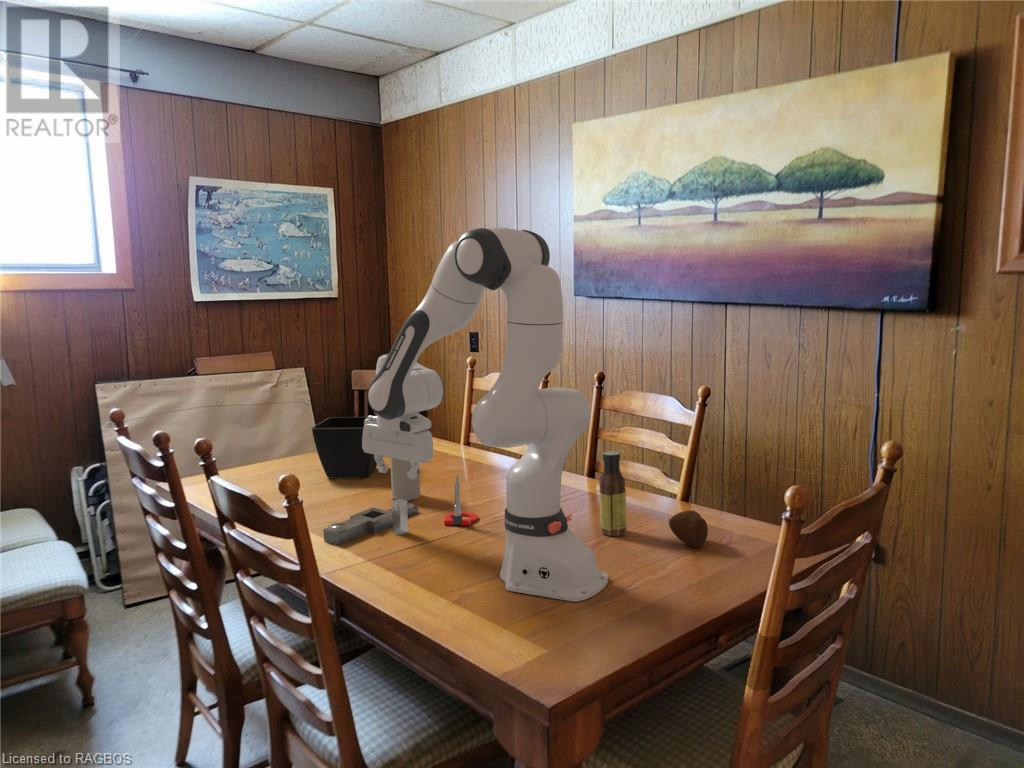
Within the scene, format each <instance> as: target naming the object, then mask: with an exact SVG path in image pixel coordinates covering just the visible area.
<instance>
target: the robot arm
mask: <svg viewBox="0 0 1024 768" xmlns="http://www.w3.org/2000/svg"><path fill="white" fill-rule="evenodd" d="M550 258H551V257H550V248H549V245H548V244H547V242H546V240H545V239H544V238H543V236H541V235H540V234H538V233H537V232H536V233H535V232H534V231H531V230H528V229H521V230H520V229H514V228H513V229H512V228H509V227H491V228H485V227H478V228H474V229H471V230H469V231H467V232H465V233H463V234H462V235H461V236H460V238H459V239H458V240H456V241H454V242H452V243H451V244H450V245H449V246H448V247H447V249H446V250H445V253H444V254H443V256H442V257H441V260H440V262H439V263H438V266H437V268H436V270H435V272H434V275H433V278H432V280H431V283H430V285H429V288H428V290H427V291H426V294H425V295H424V297H423V299H422V301H421V302H420V303H419V304H418V306H417V307H416V308H415V309H414V311H413V312H411V314H410V315H409V316H408V317H407V318H406V320H405V321H404V323H403V325H402V327H401V329H400V331H399V332H398V334H397V336H396V339H395V341H394V343H393V345H392V347H391V349H390V351H389V353H386V354H385V353H384V354H382V355H380V356H379V357H378V359H377V362H376V366H375V367H376V368H375V375H374V377H373V378H372V380H371V381H370V384H369V386H368V389H367V401H368V405H369V406H370V408H371V410H372V411H373V412H374V413H375V414H376V416H374V415H368V416H366V417H367V418H366V419H365V420H364V429H363V437H362V448H363V450H364V452H365V453H370V454H374V459H375V461H376V463H377V467H378V470H377V471H378V473H381V474H385V473H388V470H389V469H388V467H389V466H388V464H386V462H385V460H384V458H395V459H400V460H405V461H410V465H411V466H412V468H411V470H410V471H408V472H407V475H408V476H407V477H408V479H416V478H417V470H418V468H419V469H420V467H421V464H426V463H429V462H431V461H432V459H433V457H434V441H433V434H432V432H431V431H430V430H429V429H431V428H432V421H431V420H430V419H429V418H428V417H427V416H426V417H425V416H424V415H422V414H421V413H420V412H423V411H429V410H431V409H434V408H437V407H439V406H440V405H441V403H442V401H443V399H444V396H445V384H444V381H443V379H442V377H441V375H440V373H438V372H437V371H436V370H434V369H431V368H428V367H425V366H424V365H422V364H420V363H418V360H419V357H420V356H421V354H422V353H423V351H424V350H425V349H426V348H427V347H429V346H430V345H431V344H434V343H435V342H436V341H439V340H440V339H443V338H445V337H446V336H449V335H452V334H454V333H457V332H459V331H461V330H462V329H464V328H466V327H467V326H468V325H469V323H470V322H471V321H472V320H473V318H474V317H475V314H476V313H477V310H478V308H479V305H480V303H481V300H482V297H483V294H484V291H485V290H486V288H487V289H488V290H490V291H496V290H498V289H499V288H500V289H501V291H503V292H504V294H505V296H506V300H507V303H506V304H507V307H506V308H507V310H506V312H507V313H506V341H505V353H504V359H503V360H504V361H503V364H502V367H501V370H500V372H499V374H498V377H497V379H496V381H495V383H494V384H493V385H492V387H491V389H489V391H488V392H487V393H486V394H485V395H484V396H483V397H482V398H480V399H479V400H478V401H477V403H476V405H475V406H474V408H473V410H472V415H471V427H472V430H473V432H474V433H473V434H474V435H475V436H476V438H477V440H478V441H479V442H480V443H482V444H481V445H483V446H486V447H490V448H501V449H502V448H504V449H508V448H517V447H523V446H524V447H525V446H527V448H526V450H525V452H524V453H523V455H522V456H521V458H520V459H519V460H517V461H516V462H515V463H514V464H512V465H511V466H510V468H509V470H508V471H507V473H506V479H505V480H506V481H505V482H506V483H505V485H506V492H505V493H506V508H505V509H504V528H505V533H506V535H505V548H504V553H503V554H504V555H503V559H502V564H501V569H500V571H499V577H500V579H501V581H503V582H504V585H505V589H506V590H507V591H509V592H515V593H519V594H520V593H522V594H527V595H532V596H536V597H537V596H538V597H545V598H550V599H557V600H561V601H566V602H567V601H568V602H573V603H574V602H580V601H585V600H587V599H590V598H592V597H594V596H595V595H597V594H598V593H600V592H601V591H602V590H604V588H606V587H607V584H608V582H609V576H608V573H607V572H605V571H602V570H599V569H598V565H597V561H596V560H597V559H596V555H595V552H594V551H593V549H592V548H591V547H590V546H588V544H586V543H585V542H584V541H583V540H582V539H581V538H579V536H577V535H576V534H575V533H574V531H573V530H571V529H570V528H569V524H568V522H569V521H571V520H572V516H573V514H571V513H570V514H569V515H567V516H566V515H565V514H564V511H563V509H562V507H561V492H562V491H561V489H562V488H561V487H562V475H563V469H564V466H565V462H566V459H567V457H568V455H569V453H570V451H571V449H572V447H573V446H574V444H575V442H576V441H577V440H578V438H579V437H580V436H581V435H582V434H584V433H585V432H586V431H587V429H588V427H589V425H590V423H591V418H592V413H591V406H590V403H589V400H588V399H587V397H586V396H585V394H583V392H582V391H580V390H578V389H575V388H568V387H559V386H558V387H557V386H554V387H547V388H540V386H541V383H542V382H543V380H544V378H545V377H546V376H548V374H549V373H551V372H552V371H554V370H555V369H556V368H557V367H559V364H560V363H561V360H562V358H563V338H564V337H563V333H564V303H563V302H564V301H563V300H564V299H563V292H562V286H561V285H562V284H561V279H560V275H559V274H558V272H557V271H556V270H555V269H553V268H552V267H550V266H549V264H550Z"/></svg>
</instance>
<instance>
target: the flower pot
mask: <svg viewBox="0 0 1024 768" xmlns="http://www.w3.org/2000/svg"><path fill="white" fill-rule="evenodd" d="M367 417H368V416H344V417H343V416H341V417H340V416H339V417H337V416H336V417H335V416H334V417H328V418H325V419H324V420H323V421H321V422H319V423H317V424H315V426H313V427H311V432H312V436H313V441H314V444H315V448H316V452H317V455H318V458H319V461H320V463H321V466H322V468H323V471H324V473H325V476H326V477H327V478H329V479H366V478H369V477H370V475H371V474H372V473H373V472H374V471H375V470H376V469H377V467H378V465H377V463H376V461H375V459H374V454H370V453H365V452H364V450H363V448H362V437H363V429H364V420H365V419H366V418H367Z"/></svg>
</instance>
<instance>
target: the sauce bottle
mask: <svg viewBox="0 0 1024 768" xmlns="http://www.w3.org/2000/svg"><path fill="white" fill-rule="evenodd" d="M602 459H603V472H602V474H601V476H600V478H599V510H600V511H599V512H600V513H599V514H600V515H599V516H600V517H599V519H600V520H599V521H600V530H601V532H602V534H603V535H605V536H609V537H621V536H624V535H625V534H626V533H627V526H628V522H627V496H626V495H627V491H626V483H625V478H624V477H623V474H622V472H621V467H620V459H621V453H620V452H619V451H614V450H608V451H604V452H603V453H602Z"/></svg>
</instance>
